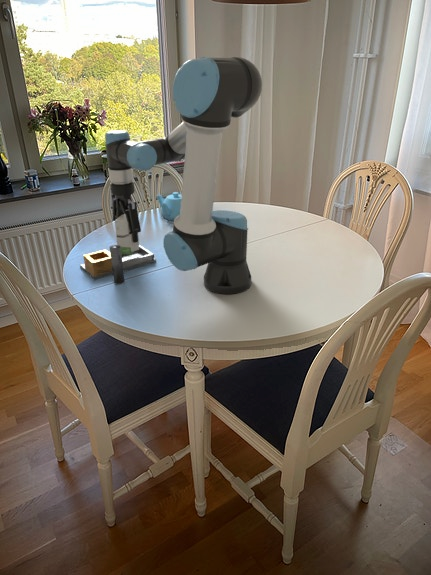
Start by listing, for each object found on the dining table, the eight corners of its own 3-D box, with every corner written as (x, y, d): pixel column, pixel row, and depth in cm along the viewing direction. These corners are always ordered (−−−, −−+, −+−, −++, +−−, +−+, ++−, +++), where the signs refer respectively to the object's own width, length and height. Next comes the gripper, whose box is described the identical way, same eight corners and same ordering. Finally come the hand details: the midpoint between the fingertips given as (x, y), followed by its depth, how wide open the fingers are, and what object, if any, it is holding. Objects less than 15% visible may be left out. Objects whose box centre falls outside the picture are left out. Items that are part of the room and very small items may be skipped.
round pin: (126, 282, 143) (122, 247, 137) (116, 284, 141) (112, 250, 136) (121, 278, 145) (117, 244, 140) (112, 281, 144) (107, 246, 138)
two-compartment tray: (156, 261, 156) (155, 248, 154) (94, 279, 144) (92, 265, 142) (140, 251, 165) (138, 238, 163) (80, 267, 153) (78, 253, 151)
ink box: (131, 255, 151) (128, 222, 145) (117, 254, 152) (113, 221, 146) (140, 245, 158) (137, 213, 153) (126, 244, 159) (123, 212, 154)
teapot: (161, 223, 192) (159, 199, 187) (157, 212, 205) (156, 189, 199) (196, 220, 194) (195, 196, 189) (190, 210, 207) (189, 187, 202)
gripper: (148, 186, 138) (153, 253, 149) (117, 172, 153) (124, 234, 164) (126, 190, 134) (133, 258, 145) (97, 176, 149) (105, 238, 160)
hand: (128, 245), depth 154 cm, fingers closed on ink box, 9 cm apart
